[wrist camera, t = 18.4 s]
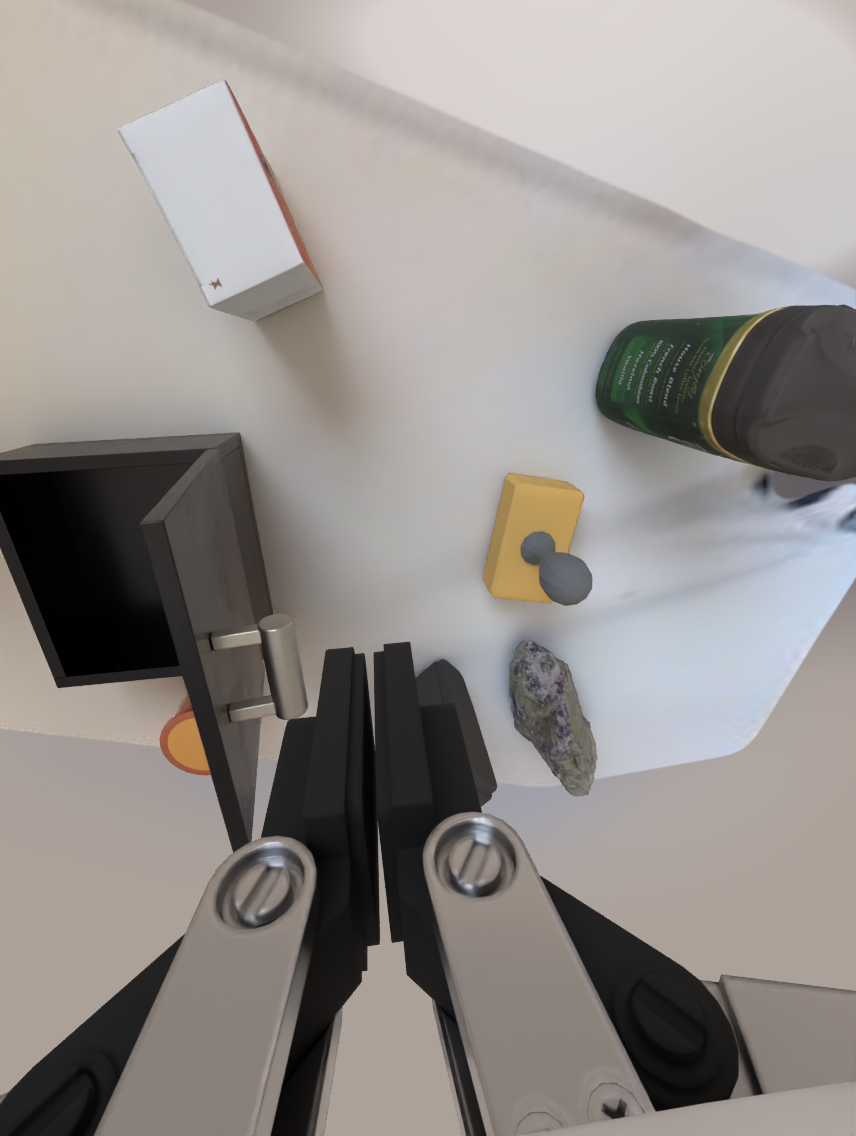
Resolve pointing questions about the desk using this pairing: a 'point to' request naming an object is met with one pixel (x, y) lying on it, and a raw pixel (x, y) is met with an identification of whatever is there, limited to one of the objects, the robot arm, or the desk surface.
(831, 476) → the coffee jar
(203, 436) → the black open box
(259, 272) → the small box
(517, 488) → the rubber stamp
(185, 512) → the black box lid
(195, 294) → the desk surface
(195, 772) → the ramekin
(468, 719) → the card reader
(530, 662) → the mineral rock
